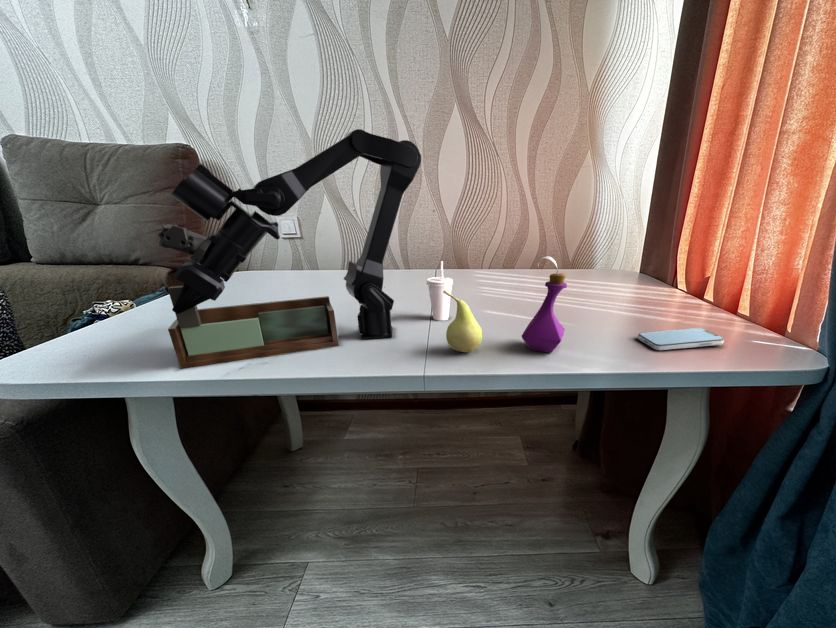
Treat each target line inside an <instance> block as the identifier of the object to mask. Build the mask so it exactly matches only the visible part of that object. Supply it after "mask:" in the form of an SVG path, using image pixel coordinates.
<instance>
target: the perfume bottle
mask: <svg viewBox="0 0 836 628" xmlns="http://www.w3.org/2000/svg"><path fill="white" fill-rule="evenodd" d="M544 259H546V260H549V261H551V262H552V263H553V264H554V266H555V267H556V273H550V274H549V280H548V281H546V282H545V283H544V286H545V288H546V289H547V293H546V296H545V297H544V300H543V301H542V303H541V306H540V307H539V309H538V310H537V312H536V314H535V315H534V316H533V318H532V319H531V320H530V321H529V323H528V324H527V326H526V328H525V329H524V331H523V332H522V334H521V339H522V340H523V342H524V343H525V344H526V346H527V347H528V349H529V350H530V351H534V352H541V353H550V354H551V353H553V352H554V351H555V349H556V348H558V346H559V344H560V343H561V342H562V340H563V337H564V333H565V330H566V328H565V327H564V326H563V325H562V324H561V322H560V321H559V320H558V318H557V317H556V315H555V312H554V307H555V302H556V300H557V297H558V295H559V294H560V293H561V292H562V291H563V290H564V289H567V287H568V284H567V282H564V281H565V279H566V277H567V275H566V274H565V273H564V272H563V273H562V272H561V273H560V272H559V267H558V264H557V261H556V260H555V259H554V257H552V256H550V255H547V256H542V257H541V258H539V260H538V262H537V267H539V265H540V263H541V261H542V260H544Z"/></svg>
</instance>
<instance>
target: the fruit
mask: <svg viewBox="0 0 836 628" xmlns="http://www.w3.org/2000/svg"><path fill="white" fill-rule="evenodd" d="M443 293H444V294H446V295H448V296H450V298H452V299H453V300H454V301H455V302H456V313H455V318H454V319H453V320H452V321H451V322H450V323H449V324H448V326H447V329H446V333H445V335H446V336H445V337H446V338H445V339H446V342H447V343H448V345H449V347H450V348H451V349H453V350H455V351H458V352H459V353H460V352H462V353H471V352H473V351H475V350H477V348H478V347H479V346H480V345H481V342H482V339H483V330H482V328H481V326H480V324H479V323H478V321H477V320H476V319H475V317H474V315H473V312H472V310H471V308H470V307H469V305H468V304H467V303H466V302H465V301H464V300H462V299H459V298H457V297H455V296H454V295H453V294H452V293H451V294H449V293H448V292H447V291H446V290H444V291H443Z"/></svg>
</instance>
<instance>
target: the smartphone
mask: <svg viewBox="0 0 836 628" xmlns="http://www.w3.org/2000/svg"><path fill="white" fill-rule="evenodd" d="M637 340H639V341H640V342H642V343H644V344H645V345H647V346H648V347H650V348H651V349H653V350H655V351H668V350H679V349H689V348H690V349H691V348H700V347H701V348H702V347H713V346H714V347H715V346H721V345H723V344H724V341H725V338H724V337H722V336H721V335H719V334H716V333H714V332H711V331H709V330H707V329H704V328H703V327H702V328H701V327H691V328H679V329H668V330H657V331H647V332H640V333H637Z"/></svg>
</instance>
